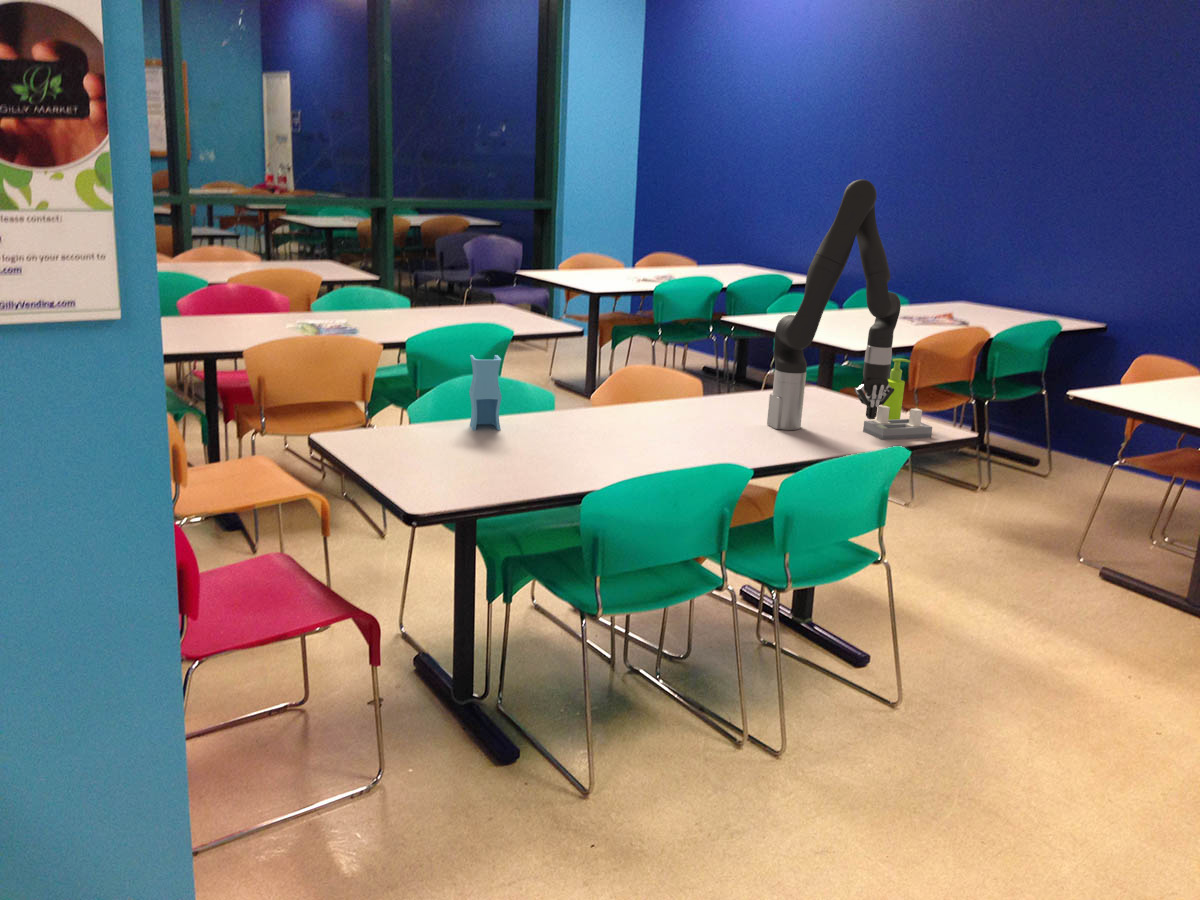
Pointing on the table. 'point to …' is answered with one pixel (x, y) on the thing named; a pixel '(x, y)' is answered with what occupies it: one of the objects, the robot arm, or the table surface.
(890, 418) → the soap dispenser
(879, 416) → the tab
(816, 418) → the table surface
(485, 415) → the notched blue pillar
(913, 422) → the tab
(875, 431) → the switch bank
